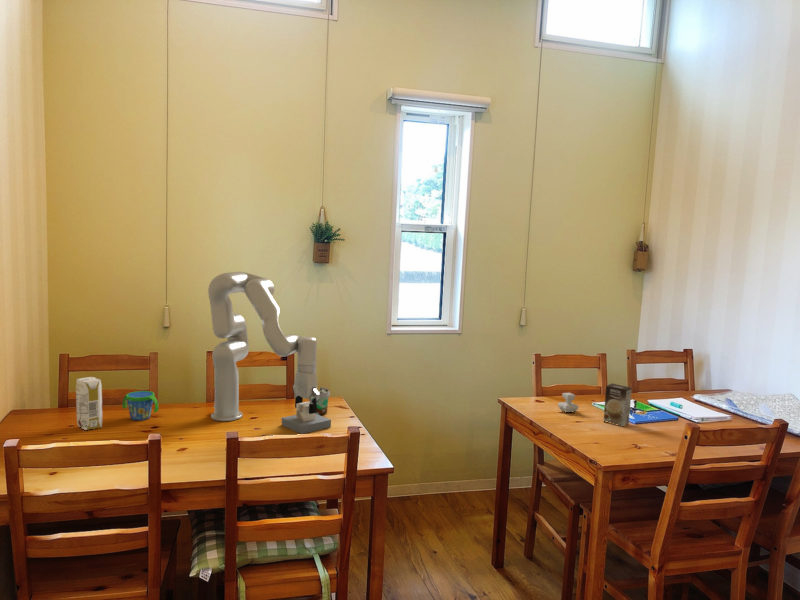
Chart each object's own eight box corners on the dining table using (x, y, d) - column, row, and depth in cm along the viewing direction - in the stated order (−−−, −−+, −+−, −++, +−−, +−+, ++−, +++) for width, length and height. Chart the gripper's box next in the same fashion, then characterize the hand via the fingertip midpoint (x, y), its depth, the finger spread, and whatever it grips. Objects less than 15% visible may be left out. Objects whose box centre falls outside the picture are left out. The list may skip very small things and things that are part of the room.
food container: (324, 418, 249) (324, 395, 248) (310, 417, 250) (310, 393, 249) (333, 410, 261) (333, 387, 260) (320, 409, 262) (320, 386, 261)
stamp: (563, 414, 265) (564, 396, 264) (555, 410, 271) (556, 392, 270) (580, 413, 267) (581, 395, 266) (572, 409, 274) (573, 391, 273)
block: (296, 418, 238) (296, 403, 237) (307, 415, 242) (308, 401, 241) (303, 421, 234) (304, 406, 233) (315, 419, 238) (315, 404, 237)
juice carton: (83, 432, 223) (82, 382, 221) (75, 427, 229) (73, 378, 227) (104, 428, 228) (103, 379, 227) (95, 422, 234) (94, 375, 232)
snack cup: (165, 417, 244) (165, 393, 243) (145, 424, 234) (145, 399, 233) (135, 412, 249) (135, 388, 248) (115, 419, 239) (115, 394, 238)
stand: (281, 425, 238) (281, 417, 238) (310, 418, 248) (310, 411, 248) (301, 434, 228) (301, 426, 228) (330, 427, 238) (330, 419, 237)
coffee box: (602, 422, 255) (604, 385, 254) (608, 419, 260) (611, 383, 258) (623, 427, 249) (626, 389, 247) (629, 424, 254) (632, 387, 252)
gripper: (286, 365, 239) (285, 406, 241) (311, 373, 227) (310, 417, 229) (302, 363, 244) (301, 403, 246) (327, 371, 232) (326, 414, 234)
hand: (305, 410), depth 238 cm, fingers open, 9 cm apart
